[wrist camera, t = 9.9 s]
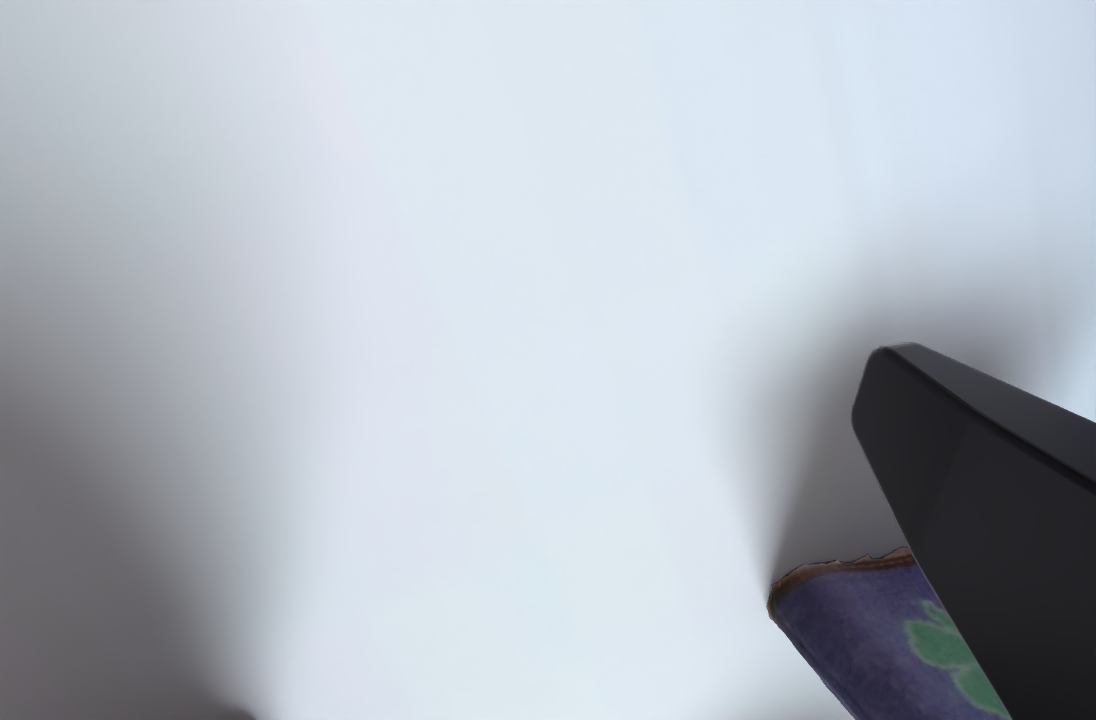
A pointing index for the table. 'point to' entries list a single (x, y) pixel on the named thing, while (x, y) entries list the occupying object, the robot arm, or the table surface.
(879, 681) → the flask
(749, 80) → the table surface
